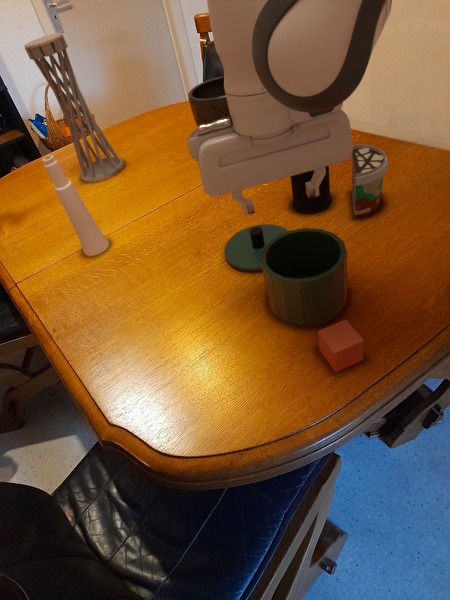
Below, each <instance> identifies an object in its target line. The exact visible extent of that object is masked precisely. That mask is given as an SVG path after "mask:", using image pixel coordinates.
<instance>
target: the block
mask: <svg viewBox="0 0 450 600" xmlns="http://www.w3.org/2000/svg"><path fill="white" fill-rule="evenodd" d="M317 335H318V337H317V338H318V350H319V352H320V353H321V355H322V356H323V358H324V359H325V360H326V362H327V363H328V364H329V366H330V367H331V368H332V370H333V372H335V373H338V372H339V371H342V370H344V369H346V368H349V367H351V366H353V365H355V364H357V363H360V362H363V360H364V350H365V349H364V347H365V340H364V338H363V337H362V336H361V335H360V333H358V332H357V331H356V329H355V328H354V326H352V325H351V323H350V322H349V321H348V320H347V319H346V318H345V319H343V320H340V321H338V322H336V323H334V324H331V325H329V326H326V327H325V328H322V329H319V330H317Z"/></svg>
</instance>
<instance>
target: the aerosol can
mask: <svg viewBox="0 0 450 600" xmlns="http://www.w3.org/2000/svg"><path fill="white" fill-rule="evenodd" d="M313 174H314V171H313V170H312V171H308V172H305V173H301V174H297V175H294V176H290V177H289V178H290V185H291V186H290V187H291V195H292V204H291V205H292V208H293V209H294V210H295V211H296V212H298V213H301V214H315V213H321V212H322V211H324V210H326V209H328V208H329V206H330V205H331V204H332V197H331V185H330V183H331V182H330V166H326V174H325V176H324V178H323V180H322V182H321V184H320V185H319V196H316V197H312V198H308V196H307V193H306V186H305V183H306V182H310V181H311V179H312V176H313Z"/></svg>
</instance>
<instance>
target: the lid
mask: <svg viewBox="0 0 450 600" xmlns="http://www.w3.org/2000/svg"><path fill="white" fill-rule="evenodd" d="M288 231H289V230H288V229H287V228H285V227H283V226H281V225H276V224H272V223H271V224H270V223H269V224H268V223H267V224H266V223H265V224H255V225H251V226H249V227H245V228H243V229H242V230H239V231H238V232H236V233H235V234H233V235H232V236H231V237H230V238H229V239H228V241H226V244H225V245H224V256H225V259H226V261H227V262H228V263H229V265H231V266H232V267H234V268H236V269H239V270H242V271H250V272H255V271H256V272H257V271H263V270H262V265H261V254H262V252H263V250H264V248H265V246H266V245H267V244H268V243H269V242H270V241H271V240H272V239H274V238H275V237H276V236H278V235H281V234H283V233H285V232H288Z"/></svg>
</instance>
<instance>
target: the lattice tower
mask: <svg viewBox="0 0 450 600" xmlns="http://www.w3.org/2000/svg"><path fill="white" fill-rule="evenodd" d="M23 47H24V50H25V51H26V54H27V55H28V58H29V60H30V61H31V60H32V61H34V63H35V65H36V67H37V68H38V69H39V71H40V73H41V74H42V76H43V77H44V79H45V81H46V82H47V84H48V85H49V87H50V89H51V90H52V92H53V93H54V96H55V98H56V101H57V103H58V105H59V107H60V109H61V112H62V114H63V116H64V118H65V121H66V123H67V125H68V129H69V132H70V135H71V139H72V143H73V146H74V150H75V153H76V157H77V161H78V164H79V166H80V178H81V180H82V181H84V182H86V183H97V182H101V181H104V180H106V179H109V178H111V177H113V176H115V175H116V174H117V173H119V172H120V171H122V170H123V168H124V167H125V161H124V159H123V158H121V157H119V156H118V154H117V153H116V151H115V150H114V148H113V146H112V145H111V144H110V142H109V140H108V138H107V137H106V135H105V134H104V132H103V131H102V129H101V128H100V127H99V125H98V123H97V122H96V120H95V119H94V117H93V115H92V113H91V111H90V109H89V107H88V105H87V102H86V100H85V98H84V97H83V94H82V92H81V90H80V88H79V86H78V82H77V79H76V77H75V74H74V73H75V72H74V70H73V68H72V64H71V61H70V58H69V55H68V51H67V48H68V43H67V41H66V39H65V37H64V35H63V33H62V32H55V33H50V34H47V35H44V36H41V37H38V38H36V39H33V40H31V41H29V42H26V43H25V44H24V45H23ZM54 55H57V59H58V61H57V60H56V58H55V57H54ZM47 57H48V58H49V61H50V63H49V62H48V60H47V59H46V58H47ZM57 70H58V71H59V73H60V75H61V78H60V76H59V75H58V72H57ZM70 90H71V91H70ZM63 91H64V92H65V93H64V92H63ZM82 116H83V117H84V118H83V117H82ZM76 118H77V120H78V123H77V121H76ZM93 131H94V132H95V134H96V135H95V134H94V132H93ZM86 132H87V133H88V134H89V136H90V138H91V141H92V144H93V146H94V149H93V147H92V146H91V144H90V142H89V141H88V139H87V135H86ZM79 135H80V136H81V138H82V141H83V142H82V143H83V146H84V148H83V146H82V143H81V140H80V136H79ZM99 149H100V150H101V152H102V153H103V155H104V156H105V157H103V158H102V156H101V153H100V150H99ZM91 154H92V156H93V157H94V159H95V161H93V160H92V157H91Z"/></svg>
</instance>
